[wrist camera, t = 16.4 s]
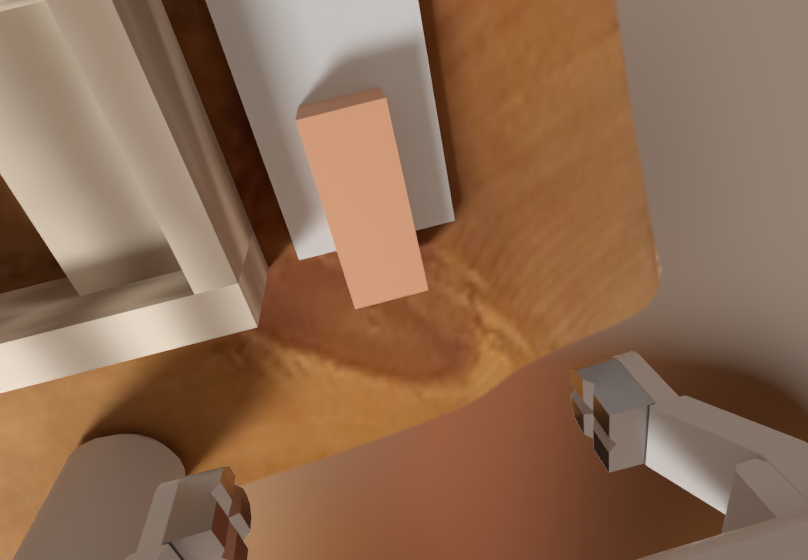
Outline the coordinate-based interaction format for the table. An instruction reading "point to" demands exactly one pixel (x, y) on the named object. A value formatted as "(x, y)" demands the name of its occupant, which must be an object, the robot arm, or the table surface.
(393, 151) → the bar
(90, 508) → the can
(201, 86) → the table surface
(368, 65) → the mat
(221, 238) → the pocket block
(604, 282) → the table surface
